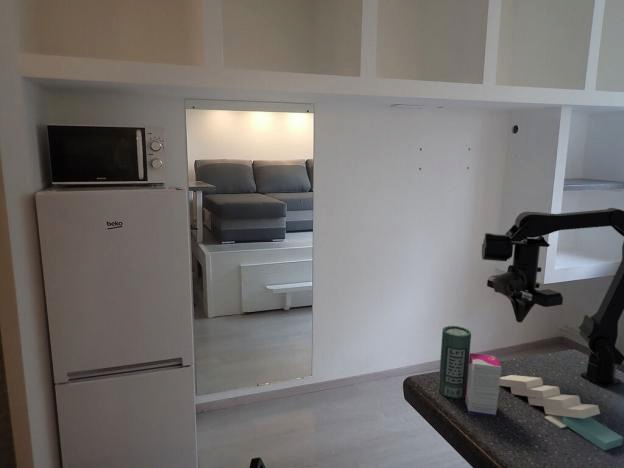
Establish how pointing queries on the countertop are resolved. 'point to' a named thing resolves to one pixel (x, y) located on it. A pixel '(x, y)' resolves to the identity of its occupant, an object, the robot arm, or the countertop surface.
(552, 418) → the pad
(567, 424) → the end domino
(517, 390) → the domino
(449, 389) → the can
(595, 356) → the robot arm
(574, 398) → the domino
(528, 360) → the countertop surface
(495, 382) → the supplement box
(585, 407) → the domino
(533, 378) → the domino
